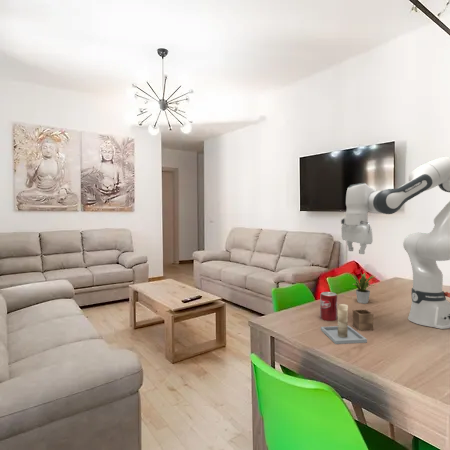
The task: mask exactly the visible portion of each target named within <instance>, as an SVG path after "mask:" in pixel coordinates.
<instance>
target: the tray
mask: <svg viewBox="0 0 450 450" xmlns="http://www.w3.org/2000/svg"><path fill="white" fill-rule="evenodd" d="M320 331H321V332H322V333H323V334H324V335H325V336H327V337H328V338H329V340H330V341H332V342H333V343H334V344H335V345H346V344H349V345H350V344H364V343H365V344H366V343H368V339H367V338H366V337H365V336H363V335H362V334H361V333H360V332H358V330H355V329H354V327H352V326H350V325H348V332H347V337H346V338H342V337H339V336H338V325H331V326H320Z"/></svg>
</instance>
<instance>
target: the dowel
mask: <svg viewBox="0 0 450 450" xmlns="http://www.w3.org/2000/svg"><path fill="white" fill-rule="evenodd" d="M348 309H349V305H348V304H345V303H339V304H338V303H337V326H338V336H339V337H342V338H346V337H347V332H348V326H349V325H348V324H349V323H348V320H349V319H348V318H349V317H348V316H349V313H348V311H349V310H348Z"/></svg>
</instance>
